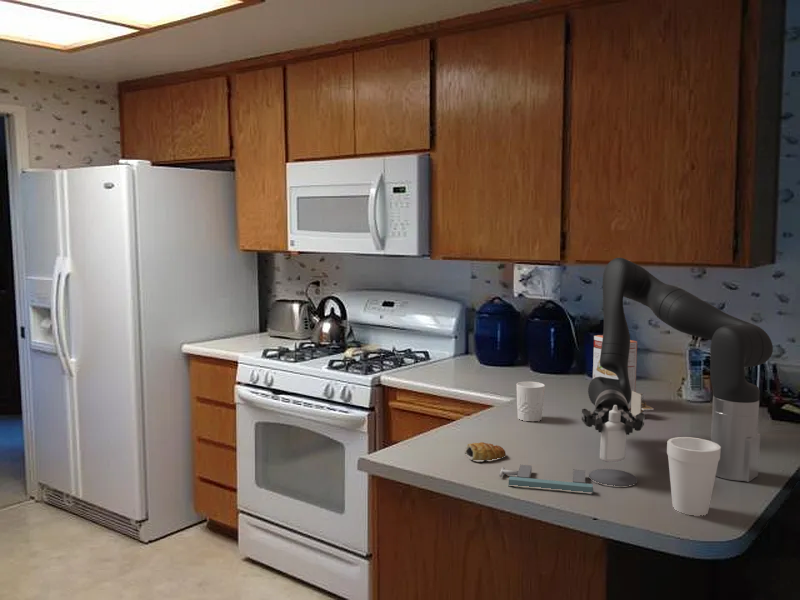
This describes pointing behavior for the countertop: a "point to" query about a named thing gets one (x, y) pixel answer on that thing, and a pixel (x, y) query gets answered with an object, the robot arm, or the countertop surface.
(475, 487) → the countertop surface
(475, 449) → the pastry
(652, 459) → the countertop surface
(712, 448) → the foam cup
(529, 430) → the countertop surface
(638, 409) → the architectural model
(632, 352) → the cracker box
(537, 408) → the white cup
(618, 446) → the eye dropper bottle
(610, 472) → the mat
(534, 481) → the vise
